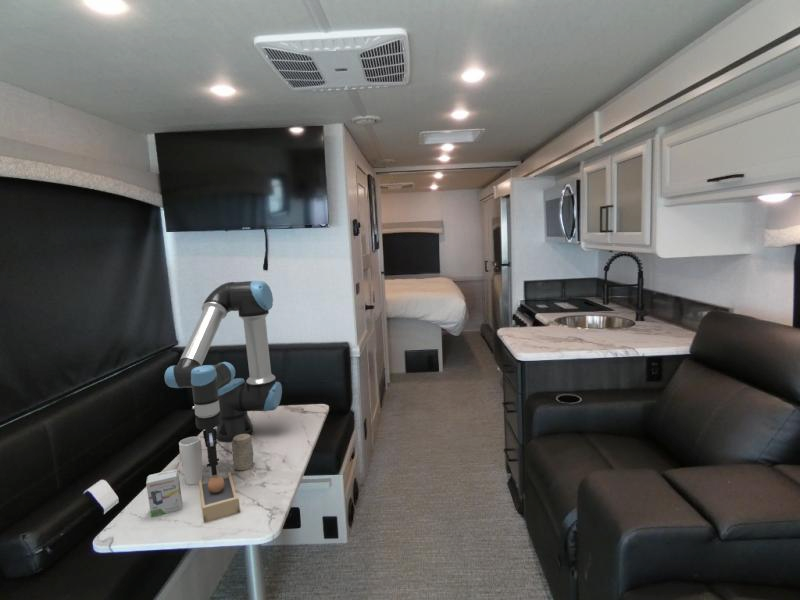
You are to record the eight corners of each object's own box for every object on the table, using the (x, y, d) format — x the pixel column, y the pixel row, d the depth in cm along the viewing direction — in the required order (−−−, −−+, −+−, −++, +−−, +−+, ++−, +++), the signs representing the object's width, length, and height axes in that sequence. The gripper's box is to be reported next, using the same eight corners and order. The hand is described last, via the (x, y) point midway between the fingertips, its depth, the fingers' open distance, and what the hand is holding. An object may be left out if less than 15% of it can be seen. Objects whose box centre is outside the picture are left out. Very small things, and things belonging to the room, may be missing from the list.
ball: (206, 479, 154) (206, 478, 149) (223, 474, 156) (223, 473, 151) (209, 494, 152) (208, 494, 148) (225, 490, 154) (225, 489, 150)
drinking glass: (209, 478, 162) (204, 437, 160) (195, 488, 156) (190, 446, 154) (193, 476, 164) (189, 435, 162) (179, 486, 158) (173, 443, 156)
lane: (199, 486, 157) (197, 472, 156) (230, 478, 161) (229, 464, 161) (204, 524, 136) (202, 508, 135) (240, 513, 140) (238, 498, 139)
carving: (258, 464, 170) (255, 433, 169) (243, 474, 164) (240, 442, 162) (245, 462, 173) (242, 431, 171) (230, 471, 166) (226, 439, 165)
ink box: (182, 503, 147) (178, 467, 146) (182, 511, 143) (177, 475, 141) (152, 510, 144) (147, 474, 142) (150, 519, 139) (145, 482, 138)
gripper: (194, 410, 156) (201, 476, 159) (196, 422, 144) (203, 494, 147) (218, 405, 159) (225, 471, 162) (221, 417, 147) (229, 488, 150)
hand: (215, 482), depth 155 cm, fingers closed
